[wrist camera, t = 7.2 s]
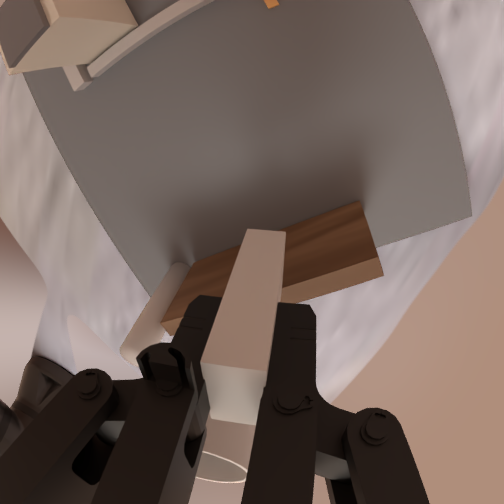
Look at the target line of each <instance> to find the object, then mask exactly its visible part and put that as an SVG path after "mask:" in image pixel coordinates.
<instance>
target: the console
mask: <svg viewBox="0 0 504 504" xmlns="http://www.w3.org/2000/svg"><path fill="white" fill-rule="evenodd" d="M125 2H126V3H127V5H128V7H129V9H130V11H131V13H132V15H133V16H134V18H135V20H136V22H137V24H138V27H137V28H135V29H134V30H132V31H131V32H130V33H128V34H127V35H126V36H124V37H123V38H122V39H120V40H119V41H118V42H116V43H115V44H114V45H113V46H111V47H110V48H109V49H108V50H106V51H105V52H104V53H103V54H101V55H100V56H99V57H98V58H97V59H95V60H94V61H93V62H92V63H91V64H81V65H71V66H62V67H54V68H47V69H41V70H35V71H29V72H23V75H24V77H25V80H26V82H27V84H28V87H29V89H30V91H31V94H32V96H33V98H34V100H35V103H36V105H37V107H38V109H39V111H40V113H41V115H42V118H43V120H44V122H45V124H46V126H47V128H48V130H49V132H50V134H51V136H52V138H53V140H54V142H55V144H56V146H57V148H58V150H59V151H60V153H61V155H62V157H63V159H64V161H65V163H66V165H67V166H68V168H69V170H70V172H71V174H72V175H73V177H74V179H75V181H76V183H77V184H78V186H79V188H80V190H81V191H82V193H83V195H84V196H85V198H86V200H87V201H88V203H89V205H90V206H91V208H92V210H93V211H94V213H95V215H96V216H97V218H98V220H99V221H100V223H101V224H102V226H103V228H104V229H105V231H106V232H107V234H108V235H109V237H110V239H111V240H112V242H113V243H114V245H115V246H116V248H117V249H118V251H119V252H120V254H121V255H122V257H123V258H124V260H125V261H126V263H127V264H128V266H129V267H130V269H131V270H132V272H133V273H134V274H135V276H136V277H137V279H138V280H139V282H140V283H141V284H142V286H143V287H144V289H145V290H146V291H147V293H148V294H149V296H150V297H151V298H150V300H149V301H148V303H147V305H146V306H145V308H144V309H143V311H142V313H141V314H140V316H139V318H138V319H137V321H136V322H135V324H134V326H133V327H132V329H131V331H130V332H129V334H128V336H127V337H126V339H125V341H124V342H123V344H122V346H121V347H120V354H121V355H122V357H123V358H124V359H125V360H126V361H127V362H129V363H130V364H132V365H134V366H137V367H139V365H138V363H137V360H136V357H137V356H138V355H139V353H140V352H141V351H142V350H143V349H145V348H147V347H148V346H150V345H153V344H157V343H160V341H161V339H162V337H163V335H164V333H165V331H166V330H165V329H164V328H163V326H162V325H161V324H160V322H161V320H162V318H163V316H164V315H165V313H166V311H167V309H168V307H169V306H170V304H171V302H172V300H173V298H174V297H175V295H176V293H177V291H178V289H179V288H180V286H181V284H182V282H183V280H184V279H185V277H186V275H187V273H188V272H189V270H190V268H191V266H192V265H193V263H194V262H197V261H199V260H202V259H204V258H207V257H210V256H212V255H215V254H217V253H220V252H223V251H225V250H228V249H231V248H233V247H236V246H238V245H241V244H242V242H243V239H244V237H245V234H246V231H247V229H258V230H271V231H278V230H281V229H283V228H286V227H289V226H291V225H294V224H297V223H299V222H302V221H305V220H307V219H310V218H313V217H315V216H318V215H321V214H323V213H326V212H329V211H332V210H334V209H337V208H340V207H342V206H345V205H348V204H350V203H353V202H356V201H359V200H360V203H361V205H362V208H363V211H364V214H365V216H366V219H367V222H368V225H369V228H370V231H371V234H372V237H373V241H374V244H375V247H376V248H377V247H380V246H383V245H386V244H390V243H393V242H396V241H399V240H402V239H405V238H408V237H411V236H415V235H418V234H421V233H424V232H427V231H430V230H433V229H436V228H439V227H442V226H445V225H448V224H451V223H454V222H457V221H460V220H463V219H465V218H468V217H471V216H472V209H471V201H470V194H469V187H468V181H467V175H466V169H465V164H464V159H463V154H462V149H461V145H460V141H459V136H458V132H457V128H456V124H455V120H454V117H453V113H452V109H451V106H450V103H449V99H448V96H447V93H446V90H445V87H444V84H443V81H442V78H441V75H440V72H439V69H438V66H437V64H436V61H435V58H434V56H433V53H432V51H431V48H430V46H429V43H428V41H427V38H426V36H425V34H424V32H423V29H422V27H421V25H420V23H419V20H418V18H417V16H416V14H415V12H414V10H413V8H412V6H411V4H410V2H409V0H125Z"/></svg>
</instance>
